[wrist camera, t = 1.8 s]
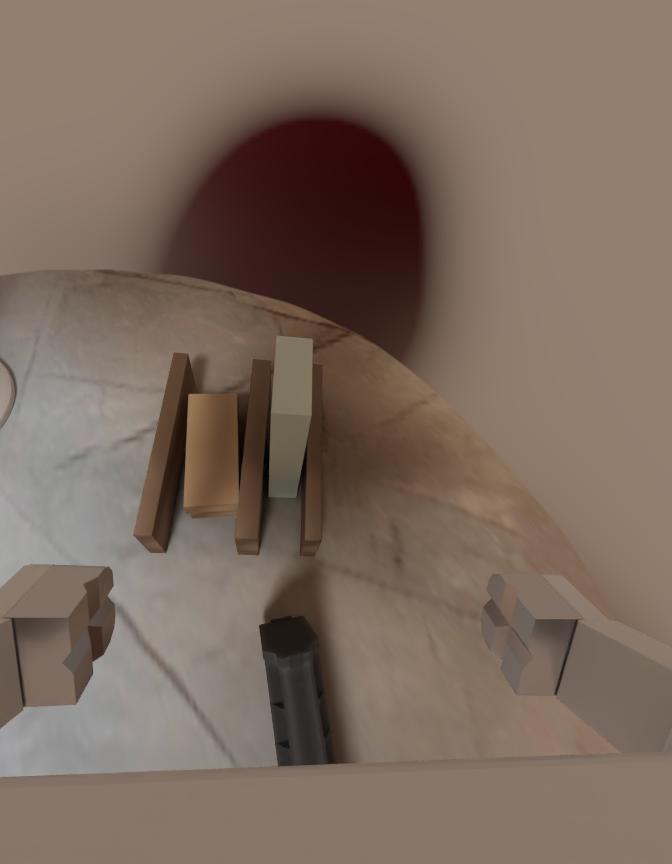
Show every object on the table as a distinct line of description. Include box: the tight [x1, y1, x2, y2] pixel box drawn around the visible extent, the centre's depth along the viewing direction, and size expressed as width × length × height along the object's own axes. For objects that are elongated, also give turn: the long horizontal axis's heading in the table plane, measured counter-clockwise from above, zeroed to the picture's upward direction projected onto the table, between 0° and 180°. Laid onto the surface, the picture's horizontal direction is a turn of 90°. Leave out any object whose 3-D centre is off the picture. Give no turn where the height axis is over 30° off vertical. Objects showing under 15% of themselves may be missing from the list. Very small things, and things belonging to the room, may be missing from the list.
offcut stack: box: [183, 393, 241, 518], centre depth 36 cm, size 4×11×4 cm, turn 7°
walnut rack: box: [133, 353, 322, 556], centre depth 36 cm, size 13×16×5 cm
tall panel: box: [268, 336, 313, 498], centre depth 33 cm, size 2×6×14 cm, turn 1°
